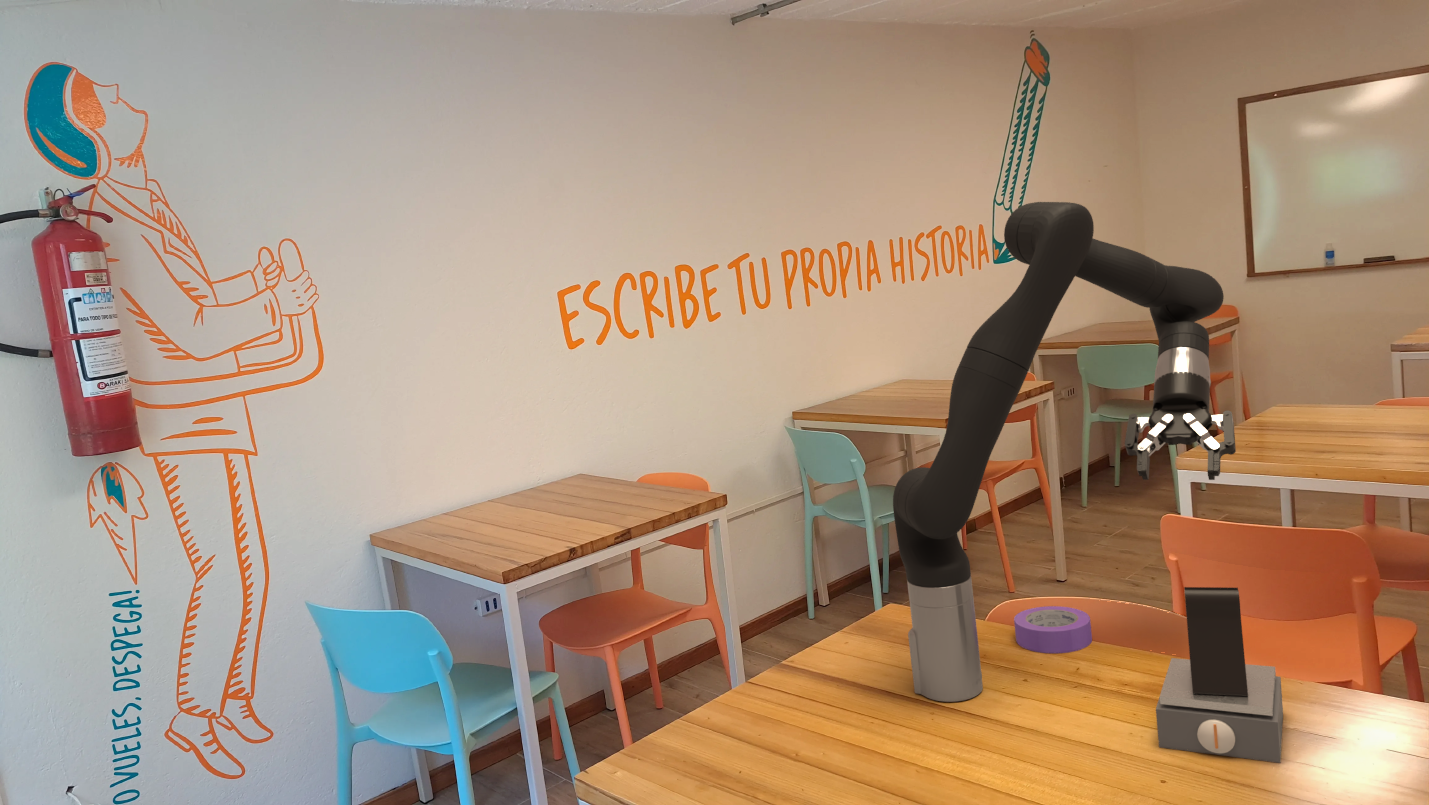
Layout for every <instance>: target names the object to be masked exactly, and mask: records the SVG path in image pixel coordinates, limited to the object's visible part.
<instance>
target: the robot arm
mask: <svg viewBox="0 0 1429 805" xmlns="http://www.w3.org/2000/svg"><path fill="white" fill-rule="evenodd" d="M1094 229H1095V226H1094V219H1093V216H1092V214H1091V212H1090V210H1089V209H1088V208H1087V207H1086V206H1084V205H1083V204H1080V203H1077V202H1076V203H1075V202H1066V201H1061V202H1060V201H1035V202H1030V203H1026V204H1023V205H1021V206H1019V207H1018V208H1016V209H1015V210H1014V211H1012V212H1011V214H1010V215H1009V217H1008V219H1007V221H1006V223H1005V226H1004V231H1003V232H1004V233H1003V235H1004V236H1003V238H1004V243H1005V246H1006V249H1007V251H1008V252H1009V254H1010V255H1011V256H1012V257H1013V258H1014V259H1015V260H1017V262H1020V263H1022V264H1025V265H1028V267H1027V269H1026V271H1025V274H1024V276H1023V277H1022V280H1021V281H1020V283H1019V285H1018V286H1017V287H1016V289H1015V291H1014V292H1013V293H1012V294H1011V296H1010V297H1009V298H1007V300H1006V301H1004V303H1002V305H1000V307H999V308H997V310H996V311H994V312H993V313H992V314H991V315H990V316H989V317H988V318H987V319H986V320H985V321H984V322H983V323H982V324H981V325H980V326H979V328H978V329H977V330H976V331H975V333H973V335H971V338H970V340H969V342H968V344H967V346H966V349H965V350H964V353H963V355H962V357H961V359H960V362H959V364H958V367H957V368H956V371H955V374H954V375H953V376H954V377H953V380H952V383H951V391H950V397H949V407H948V418H947V426H946V431H945V433H944V437H943V440H942V442H941V444H940V447H939V449H938V451H937V453H936V456H935V458H934V460H933V462H932V463H931V465H930V467H925V466H924V467H915V468H912V469H910V470H908V471H907V472H905V473H904V474H903V475H901V477H900V478H899V480H898V481H897V483H896V485H895V487H894V490H893V495H892V508H893V518H894V524H895V530H896V532H895V533H896V539H897V544H898V545H897V546H898V550H899V556H900V559H901V562H902V564H903V566H904V570H905V574H906V582H907V591H908V599H909V609H910V616H911V629H910V630H909V631H908V632H907V633H908V634H907V636H908V645H909V647H908V648H909V655H910V664H911V669H912V670H911V672H912V680H913V688H914V693H915V694H918V695H922V696H924V697H925V698H926V699H927V698H928V699H930V700H933V701H937V702H938V701H939V702H946V703H947V702H948V703H949V702H952V703H954V702H961V701H966V700H970V699H973V698H975V697H976V696H978V695H979V694H981V692H982V691H983V689H984V688H983V687H984V686H983V675H982V672H983V671H982V667H981V665H982V664H981V655H980V648H979V638H978V629H977V620H976V619H977V618H976V611H975V610H976V609H975V601H974V591H973V590H974V589H973V581H972V573H971V564H970V559H969V557H968V555H967V554H966V552H965V550H964V548H963V546H962V544H961V542H960V540H959V536H958V533H959V532H960V531H961V530H962V529H963V528H964V526H965V525H966V524H967V522H968V520H969V518H970V516H971V514H972V511H973V509H974V506H975V503H976V500H977V497H978V493H979V491H980V488H981V484H982V481H983V479H984V478H983V477H984V475H985V472H986V469H987V465H988V464H989V463H988V462H989V460H990V457H991V454H992V452H993V450H994V447H995V445H996V443H997V441H998V439H999V437H1000V435H1001V432H1002V430H1003V428H1004V426H1005V423H1006V421H1007V419H1008V416H1009V414H1010V412H1011V409H1012V407H1013V405H1014V403H1015V402H1016V399H1017V398H1018V396H1019V394H1020V391H1021V389H1022V386H1023V385H1024V382H1025V380H1026V378H1027V375H1028V372H1029V371H1030V368H1031V366H1032V363H1033V361H1034V358H1035V355H1036V353H1037V351H1038V348H1039V347H1040V346H1041V342H1042V340H1043V338H1044V336H1045V334H1046V332H1047V330H1048V328H1049V325H1050V323H1051V321H1052V319H1053V317H1054V315H1055V313H1056V310H1057V309H1058V307H1059V305H1060V303H1061V302H1062V299H1063V298H1064V296H1065V295H1066V293H1067V291H1068V290H1069V288H1070V286H1071V284H1072V282H1074V279H1075V277H1076V278H1079V279H1081V280H1084V281H1086V282H1088V283H1090V284H1093V285H1095V286H1097V287H1099V288H1102V289H1104V290H1106V291H1108V292H1110V293H1112V294H1115V295H1116V296H1119V297H1120V298H1122V299H1124V300H1127V301H1130V302H1131V303H1133V304H1135V305H1137V306H1141V307H1143V308H1147V309H1149V311H1150V312H1149V313H1150V316H1151V318H1152V321H1153V322H1152V323H1153V324H1154V328H1155V332H1156V335H1157V340H1158V346H1157V347H1158V350H1157V362H1156V366H1155V371H1154V381H1153V382H1154V384H1153V399H1152V412H1151V414H1150V415H1149V416H1148V417H1143V416H1141V417H1139V416H1138V414H1136V413H1131V414H1129V416H1128V419H1127V420H1128V421H1127V426H1126V432H1125V439H1124V447H1125V449H1126V453H1127V455H1128V456H1131V457H1133V456H1136V458H1137V459H1136V470H1137V474H1138V476H1139V477H1141V478H1142V480H1143V481H1147V480H1149V479H1150V467H1151V466H1150V465H1151V464H1150V463H1151V458H1150V457H1151V456H1152V454H1154V453H1155V452H1156V451H1160V449H1161V448H1162V447H1163V446H1164V445H1166V444H1168V446H1176V445H1185V446H1186V445H1188V446H1191V445H1193V443H1196V444H1198V446H1199V447H1201V448H1202V450H1205V451H1206V452H1207V477H1208V480H1209V481H1215V480H1216V477H1220V474H1221V458H1222V457H1223V456H1224V455H1230V456H1232V455H1235V454H1236V452H1237V451H1236V450H1237V449H1236V437H1235V436H1236V435H1235V423H1234V418H1233V417H1234V416H1233V413H1232V411H1230V410H1224V411H1223V412H1222V414H1213V415H1212V414H1211V413H1210V396H1211V393H1210V392H1211V391H1210V390H1211V385H1212V381H1211V380H1212V379H1211V368H1210V362H1209V360H1210V335H1209V333H1208V330H1207V329H1206V328H1205V327H1204V326H1203V325H1202V324H1200V323H1198V321H1200V320H1203V319H1205V318H1207V317H1210V316H1212V315H1213V314H1215V313H1217V312H1218V311H1219V310H1220V309H1221V307H1222V306H1223V302H1224V299H1225V298H1224V291H1223V288H1222V286H1221V284H1220V283H1219V281H1218V280H1217V279H1216V278H1214V277H1213V276H1212V275H1210V274H1209V273H1207V272H1204V271H1202V270H1199V269H1194V268H1190V267H1182V266H1181V267H1180V266H1177V265H1166V264H1164V263H1162V262H1159V261H1157V260H1155V259H1154V258H1152V257H1149V256H1147V255H1145V254H1143V253H1141V252H1138V251H1135V250H1133V249H1130V248H1127V247H1123V246H1119V245H1116V244H1113V243H1109V242H1106V241H1102V240H1099V239H1096V238H1093V237H1094V232H1095V231H1094ZM1213 425H1216V426H1217V429H1219V430H1221V431H1222V432H1223V439H1224V440H1223V441H1221V442H1218V441H1217V440H1216V439H1214V437H1213V436H1212V435H1211V434H1210V432H1209V430H1210V428H1211V427H1212V426H1213ZM1146 427H1149V428H1150V429H1151V430H1150V431H1149V432H1147V434H1146V436H1145V438H1144V439H1143V440H1142V441H1141V442H1140V443H1138V442H1139V438H1140V437H1139V436H1140V433H1143V431H1144V430H1145V428H1146Z"/></svg>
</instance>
